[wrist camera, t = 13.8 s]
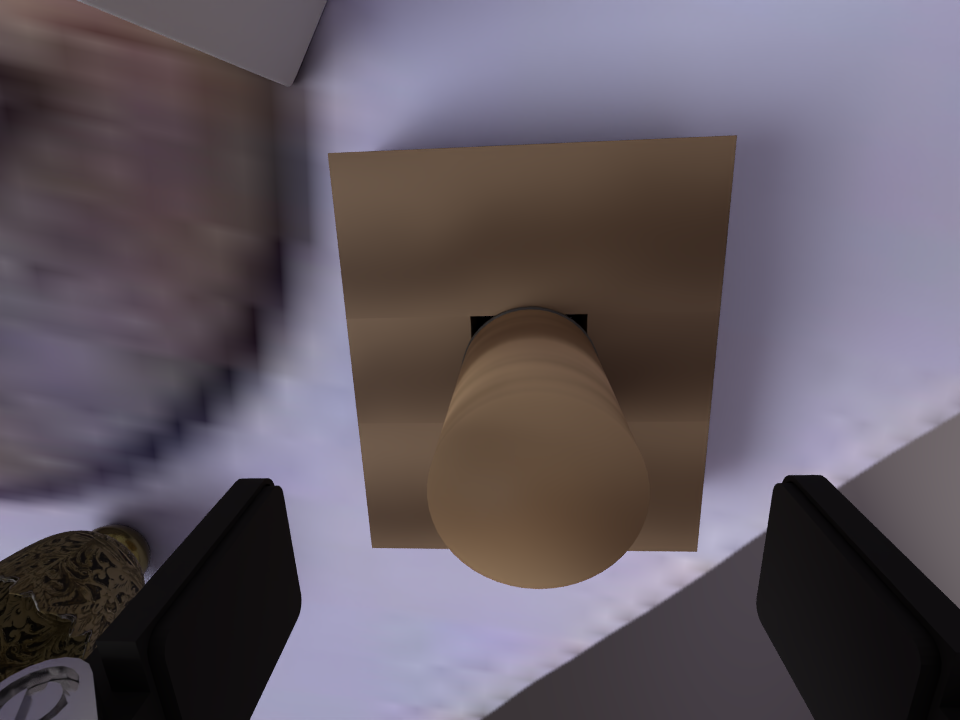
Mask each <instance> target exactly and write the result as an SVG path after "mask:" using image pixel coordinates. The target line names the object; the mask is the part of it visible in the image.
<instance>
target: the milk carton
mask: <svg viewBox="0 0 960 720" xmlns="http://www.w3.org/2000/svg"><path fill="white" fill-rule="evenodd" d="M77 1H80V2H82V3H85V4H87V5H90V6H92V7H94V8H97V9H99V10H102V11H104V12H107V13H109V14H112V15H114V16H116V17H119V18H121V19H124V20H126V21H129V22H131V23H133V24H136V25H138V26H141V27H143V28H146V29H148V30H151V31H153V32H155V33H158V34H160V35H163V36H165V37H168V38H170V39H172V40H175V41H177V42H180V43H182V44H185V45H187V46H190V47H192V48H194V49H197V50H199V51H202V52H204V53H207V54H209V55H211V56H214V57H216V58H219V59H221V60H224V61H226V62H229V63H231V64H233V65H236V66H238V67H241V68H243V69H246V70H248V71H250V72H253V73H255V74H258V75H260V76H263V77H265V78H268V79H270V80H272V81H275V82H277V83H280V84H282V85H285V86H288V87H289V86H291V85H292V83H293V82H294V80H295V77H296V75H297V73H298V70H299V68H300V66H301V63H302V61H303V58H304V56H305V53H306V51H307V49H308V46H309V44H310V41H311V39H312V36H313V34H314V32H315V29H316V27H317V24H318V22H319V19H320V17H321V15H322V12H323V10H324V7H325V5H326V2H327V0H77Z"/></svg>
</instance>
